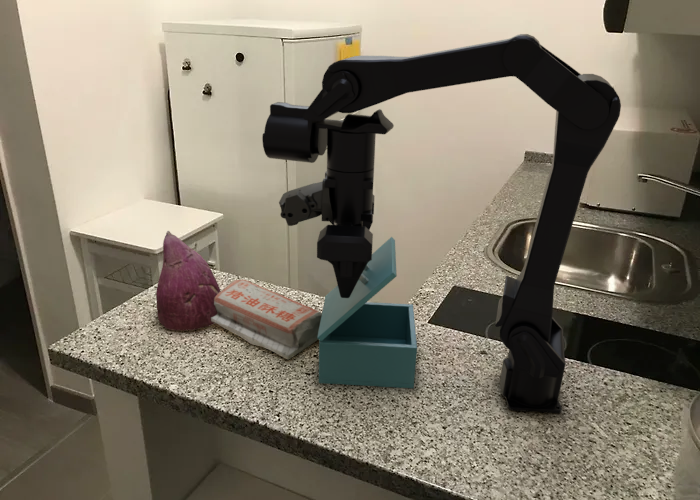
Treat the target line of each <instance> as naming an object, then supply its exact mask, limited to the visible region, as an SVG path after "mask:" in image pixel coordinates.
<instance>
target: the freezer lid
mask: <svg viewBox="0 0 700 500" xmlns="http://www.w3.org/2000/svg"><path fill="white" fill-rule="evenodd" d="M396 254H397V253H396V239H395V238H394V237H393V236H391V237H390V238H388V239H387V240H386V241H385V242H384V243H383V244H382V245H381V246H380V247H378V248H377V249H376V250H375V251H374V252H372V260H371V261H369V262H368V264H367V265H366V267H365V269H364V271H363V273H362V274H361V276H360V278H359V280H358V282H357V284H356V286H355V288H354V290H353V292H352V294H351V295H350V297H349V298H341V297H340V293H339V289H338V284H337V285H336V286H335V287H334V288H332V289H331V290H330V291H329V292H328V293H327V294H326V295H324V301H323V306H322V311H321V313H322V316H321V321H320V326H319V331H318V337H317V338H318V341H322V340H323V339H324V338H326V337H327V336H328V335H329V334H330V333H331V332H333V331H334V330H335V329H336V328H337V327H338V326H340V325H341V324H342V323H343V322H344V321H345V320H346V319H348V318H349V317H350V316H351V315H352V314H353V313H355V312H356V311H357V310H358V309H359V308H360V307H362V306H363V305H364V304H365V303H366V302H370V300H371V299H372V298H373V297H375V295H377V294H378V293H380V291H381V290H383V289H384V288H385V287H386V286H387V285H389V284H390V283H391V282H392V281H393V280H394V279H395V278H396V277H397V276H398V275H397V255H396Z"/></svg>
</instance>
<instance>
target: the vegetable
mask: <svg viewBox="0 0 700 500" xmlns="http://www.w3.org/2000/svg"><path fill="white" fill-rule="evenodd" d="M162 250H163V251H162V255H163V257H162V267H161V271H160V274H159V277H158V282H157V285H156V291H155V293H156V295H155V298H156V300H155V301H156V311H157V319H158V321H159V323H160V325H161V326H162V327H163V328H165V329H166V330H172V331H182V332H183V331H187V332H188V331H196V330H199V329H204V328H208V327H211V326H213V325H216V323H215V322H212V321H211V318H212V317H214V316H216V315H217V313H218V312H217V310H216V307H215V305H214V298H215V296H216V295H217V294H218V293H219V292H220V291H221V288H220V285H219V284H218V281H217V279H216V277H215V275H214V273H213V271H212V268H211V266H210V265H209V263H208V262H207V260H205V259H204V258H203V256H202V255H201V254H199V253H198V252H197V251H196V250H195V249H193V248H192V247H190V246H189V245H187V244H186V243H185V242H184V241H183V240H182V239H180V238H179V237H178V236H176V235H174V234H173V233H172V232H171V231H170V230H167V231H166V233H165V236H164V239H163V242H162Z"/></svg>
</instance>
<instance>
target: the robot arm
mask: <svg viewBox="0 0 700 500" xmlns="http://www.w3.org/2000/svg"><path fill="white" fill-rule="evenodd" d="M508 77H515V78H516V79H518V81H520V82H521V83H522V84H524V85H525V86H526V87H527V88H529V89H530V90H531V92H533V93H534V94H535V95H536V96H538V97H539V98H540V99H541V100H542V101H543V102H544V103H546V104H547V105H549V107H551V108H552V109H554V110H555V122H554V124H555V125H554V137H553V139H554V140H553V154H552V161H551V165H550V168H549V173H548V176H547V178H546V179H547V180H546V184H545V188H544V190H543V194H542V199H541V202H540V206H539V210H538V212H537V217H536V221H535V224H534V227H533V232H532V236H531V239H530V242H529V246H528V250H527V254H526V258H525V261H524V264H523V268H522V269H521V271H520V273H519V274H518V276H517V278H513V277H511V276H509V275H505V279H504V285H503V293H502V296H501V298H500V299H499V300H498V304H497V310H496V318H495V323H494V324H495V325H494V326H495V328H498V327H499V339H500V342H501V343H502V344H503V346H504V347H505V348H506V349H507V350H508V354H507V358H506V357H505V358H503V359H502V364H501V369H500V370H501V372H500V377H499V384H498V385H499V388H500V392H501V394H502V397H503V398H505V401H506V405H507V408H508V410H510V411H517V412H519V411H520V412H530V413H531V412H534V413H550V414H561V413H562V410H563V408H562V405H561V402H560V400H559V397H560V393H561V389H562V383H563V378H564V374H565V370H566V357H565V341H564V340H565V339H564V328H563V327H562V326H561V325H560V324H559V323H558V321H557V320H556V319H555V318H554V317H553V313H554V312H553V310H554V294H555V285H556V281H557V278H558V274H559V271H560V268H561V264H562V261H563V258H564V254H565V251H566V247H567V244H568V242H569V237H570V234H571V231H572V229H573V228H572V227H573V224H574V222H575V221H574V220H575V218H576V215H577V211H578V207H579V205H580V200H581V197H582V194H583V191H584V187H585V184H586V181H587V177H588V174H589V171H590V170H591V168H592V166H593V165H594V163H595V162H596V160H597V159H598V157H599V155H600V154H601V153H602V151H603V150H604V148H605V146H606V145H607V142H608V140H609V139H610V136H611V135H612V132H613V131H614V129H615V127H616V124H617V123H618V121H619V118H620V115H621V108H622V105H621V104H622V103H621V98H620V96H619V95H618V92H617V91H616V90H615V88H614V87H613V86H612V85H611V84H610V82H609V81H608V80H606V79H605V77H603V76H601V75H598V74H594V73H580V72H578V71H577V70H576V69H574V68H573V67H572V66H571V65H570V64H568V63H567V62H565V61H564V60H563V59H561V57H558V56H557V55H556V54H555V53H552V52H551V50H548V49H547V48H546V47H545V46H543V45H542V44H541V43H540V41H539V39H537V38H536V37H535V36H534V35H531V34H529V33H520V34H517V35H514V36H512V37H510V38H506V39H500V40H494V41H489V42H483V43H478V44H472V45H467V46H461V47H456V48H449V49H443V50H439V51H434V52H428V53H422V54H417V55H412V56H394V55H393V56H392V55H354V56H351V57H346V58H344V59H340V60H337V61H334V62H333V63H331V64H330V65H329V66H328V67H327V69H326V71H325V72H324V73H323V75H322V81H321V90H320V91H319V92H318V94H317V95H316V97H314V99H313V101H312V102H311V103H310V105H301V104H299V105H298V104H291V103H288V102H281V101H277V102H274V103H271V104H270V105H269V115H268V117H267V119H266V121H265V126H264V131H263V133H262V137H261V139H262V147H263V152H264V154H265V156H266V158H268V159H273V160H281V161H290V162H291V161H292V162H302V163H309V164H313V163H315V162H316V161H317V159H318V158H319V156H323V155H325V153H326V171H325V172H324V178H323V179H322V181H318V182H313V183H310V184H307V185H304V186H301V187H297V188H293V189H291V190H288V191H286V192H284V193H283V194H282V196H281V197H280V199H279V201H278V204H279V207H280V217H281V219H284V220H285V223H286V224H287V226H289V227H293V226H296V225H298V224H299V223H301V222H304V221H308V220H312V219H315V218H317V217H320V216H321V222H329V223H330V224H327V225H326V226H324V228H322V229H321V230H320V231H319V234H318V237H317V241H316V258H317V259H319V260H321V261H326V262H328V263H329V264H330V265H331V266H332V268H333V272H334V276H335V279H336V284H337V285H338V289H339V293H340V297H341V298H349V297H350V295H351V294H352V292H353V290H354V288H355V286H356V284H357V282H358V280H359V278H360V276H361V274H362V273H363V271H364V269H365V267H366V265H367V264H368V262H369V261H371V260H372V254H373V239H374V233H373V232H371V230H370V229H371V227H372V225H373V222H374V215H375V214H374V213H375V196H376V195H374V181H375V180H374V179H375V178H374V177H375V158H376V157H375V156H376V155H375V154H376V137H377V136H376V135H387V133H389V132H390V131H391V130H393V128H394V126H395V125H394V123H393V122H392V121H391V120H390V119H389V118H387V116H386V115H385V114H384V112H383V110H382V109H381V108H379V109H377V110H376V111H374V112H373V113H372V114H371V115H367V114H366V115H365V114H355V113H356V112H359V111H362V110H364V109H367V108H370V107H373V106H376V105H379V104H382V103H385V102H386V101H389V100H392V99H394V98H396V97H400V96H403V95H405V94H409V93H415V92H421V91H426V90H434V89H439V88H440V89H441V88H445V87H451V86H459V85H465V84H466V85H467V84H472V83H476V82H477V83H478V82H484V81H490V80H497V79H502V78H503V79H504V78H508ZM338 113H341V114H346V115H345V117H344V118H343V120H342V119H328V118H330V117H331V116H333V115H335V114H338ZM353 113H354V114H353Z"/></svg>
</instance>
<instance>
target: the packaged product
mask: <svg viewBox="0 0 700 500" xmlns="http://www.w3.org/2000/svg"><path fill="white" fill-rule="evenodd" d="M214 305H215V307H216V310H217V312H218V313H217V315H216V316H214V317H212V318H211V321H212V322H215V324H216V325H219V326H220V327H222V328H223V329H225V330H227V331H229V332H231V333H233V335H236V336H238V337H240V338H242V339H243V340H245V341H246V342H248V343H249V344H250V345H254V346H257V347H262V348H264V349H266V350H269V351H271V352H273V353H275V354H277V355H278V356H281V357H282V358H284V359H286V360H290V359H291V358H293V357H295V356H296V355H298V354H299V353H301V352H303V351H304V350H305V349H306V348H308V347H310V346H311V345H312V344H314V343H315V342H317V341H319V339H318V338H317V337H318V331H319V326H320V321H321V316H322V311H320V310H317V309H314V308H312V307H311V306H308V305H305V304H302V303H301V302H299V301H296V300H293V299H292V298H289V297H287V296H285V295H283V294H280V293H277V292H276V291H273V290H270V289H268V288H265V287H262V286H261V285H258V284H256V283H253V282H252V281H249V280H247V279H234V280H232V281H230V283H229V284H227V286H225V287H224V288H223V289H222V290H221V289H220V292H219V293H218V294H217V295H216V296H215V298H214Z"/></svg>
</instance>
